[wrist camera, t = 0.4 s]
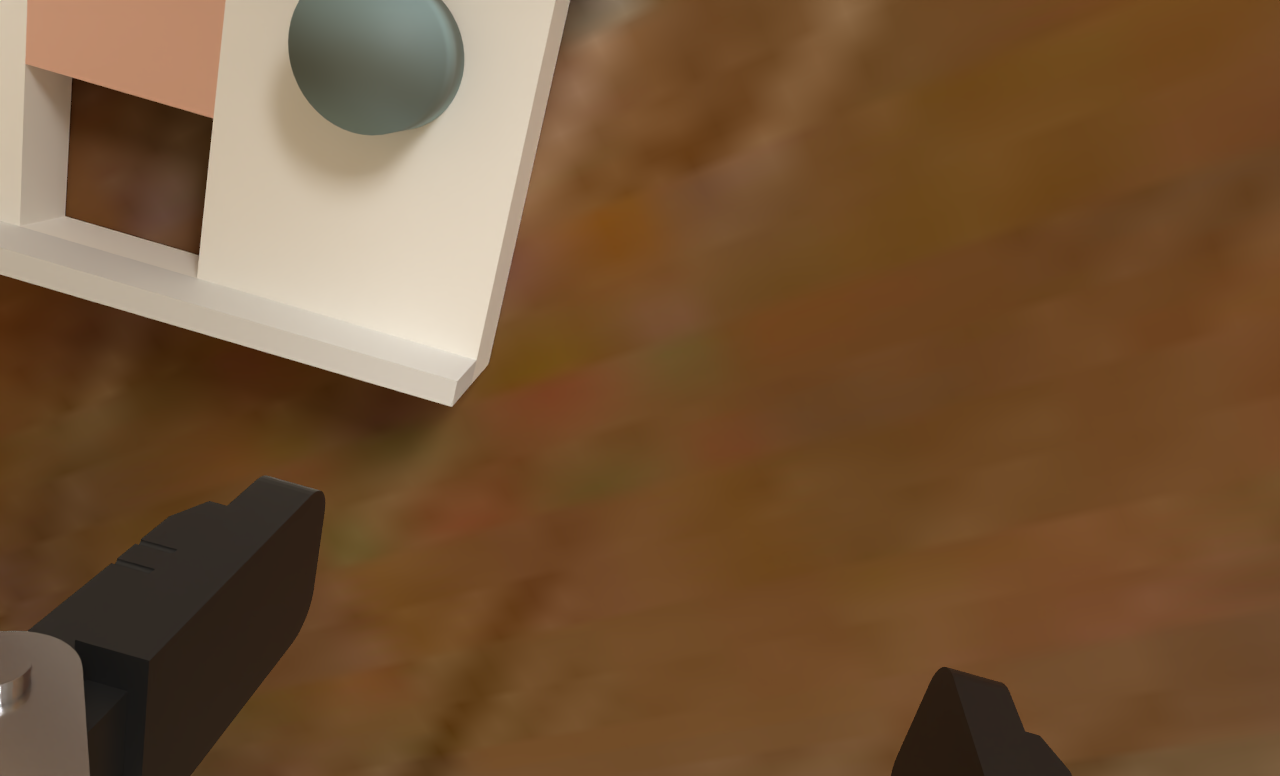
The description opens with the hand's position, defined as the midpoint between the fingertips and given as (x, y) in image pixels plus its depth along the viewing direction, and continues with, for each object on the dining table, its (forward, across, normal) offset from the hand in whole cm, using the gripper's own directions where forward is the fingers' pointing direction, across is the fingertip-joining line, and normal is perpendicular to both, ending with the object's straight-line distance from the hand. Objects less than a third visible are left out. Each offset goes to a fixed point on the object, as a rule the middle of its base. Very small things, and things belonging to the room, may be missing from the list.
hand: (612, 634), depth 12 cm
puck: (+23, +12, -4) cm, 26 cm away
